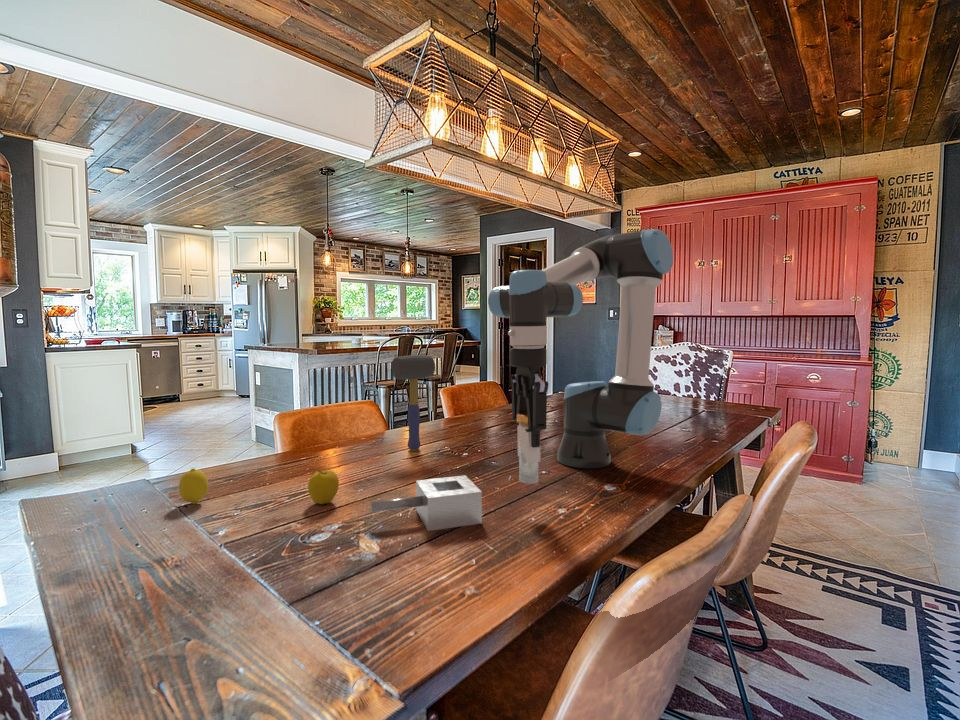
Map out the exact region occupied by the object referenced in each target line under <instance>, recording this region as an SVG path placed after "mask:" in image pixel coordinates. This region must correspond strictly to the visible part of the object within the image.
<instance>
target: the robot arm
mask: <svg viewBox="0 0 960 720" xmlns="http://www.w3.org/2000/svg"><path fill="white" fill-rule="evenodd" d="M673 252H674V251H673V246H672V244H671V242H670V239H669V237H668V235H667V234H666V233H665V232H664V231H663V230H660V229H657V228H656V229H642V230H637V231H631V232H622V233H615V234H608V235H606V236H603V237H600V238H598V239H595V240H593V241H591V242H589V243H587V244H585V245H582V246H580V247H579V248H576V249H575V250H574V251H572V253H570V256H568V257H567V258H564V259H562V260H560V261H558V262H556V263H553V264H552V265H550V266H548V267H545V268H544V269H543V268H542V269H521V270H520V269H519V270H514V271H512V272H511V273H510V275H509V284H508V285H500V286H496V287H493V289H492V290H490V292H489V294H488V297H487V304H488V308H489V311H490V312H491V314H492V315H494V317H497V318H504V319H509V331H508V332H507V335H508V336H509V345H510V346H512V347H511V348H510V349H509V365H510V366H511V367H514V368H516V369H515V374H511V375H510V384H511V385H510V386H511V404H512V405H511V410H512V411H511V412H512V413H511V415H512V417H511V418H512V421H515V424H516V427H517V429H516V431H517V457H519V423H518V422H517V414H519V413H527V415H528V426H529V429H525V430H526V432H527V462H528V463H533V462H538V463H541V432H542V431H545V430H547V411H548V410H547V408H548V407H547V403H548V402H547V399H548V389H549V382H548V381H547V380H545V381H543V380H542V373H541V368H543V367H545V366H547V364H548V363H547V362H548V361H547V357H548V356H547V354H548V353H547V350H548V349H546V348H545V346H547V343H548V342H547V341H548V340H547V337H548V336H547V334H548V333H547V330H548V329H547V327H548V325H547V318H565V319H566V318H568V317H573V316H575V315H577V314H578V313H579V312H580V310H582V307H583V302H584V295H583V293H582V290H581V288H580V287H579V286H578V285H579V284H581V283H582V282H584V283H588V282H589V283H590V282H592V281H594V280H595V279H604V278H616V282H617V283H618V284H619V286H620V287H621V294H620V295H621V297H620V298H621V299H620V310H619V320H618V321H619V322H618V335H617V345H616V346H617V348H616V359H615V370H614V371H615V372H614V376H613V377H612V378H611V379H610V380H609V381H608V384H607V382H606V381H602V380H600V381H599V380H598V381H597V380H595V381H593V380H592V381H583V382H574V383H568V384H567V385H566V386H565V387H564V395H563V435H562V438H561V441H560V443H559V447H558V450H557V453H556V454H557V455H556V456H557V459H556V460H557V462H558V463H560V464H562V465H564V466H567V467H570V468H571V467H572V468H578V469H601V468H605V467H608V466H610V465H611V463H612V460H611V459H612V457H611V456H612V455H611V452H610V449H609V446H608V442H607V438H606V431H611V432H612V431H613V432H618V433H622V434H627V435H629V436H632V435H636V436H645V435H649V434H650V433H651V432H652V431H653V430H654V428H655V427H656V426H657V424H658V422H659V420H660V417H661V412H662V401H661V396H660V394H658V393H657V392H656V391H654V389H655V384H654V383H653V382H652V381H651V380H650V378H649V376H650V363H651V350H652V349H651V348H652V337H653V324H654V316H655V315H654V314H655V313H654V312H655V303H656V302H655V300H656V299H655V298H656V289H657V288H658V287H659V286H660V285H662V283H663V279H664V278H663V277H664V275H667V274H668V273H670V272H671V270H672V268H673V266H674V253H673Z"/></svg>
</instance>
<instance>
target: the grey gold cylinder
mask: <svg viewBox="0 0 960 720" xmlns="http://www.w3.org/2000/svg"><path fill="white" fill-rule="evenodd" d="M517 422H518V423H519V456H518V463H519V464H518V466H519V467H518V471H519V472H518V474H519V476H518V477H519V479H518V480H519V482H520V483H522V484H527V485H529V484H531V485H533V484H536V483H539V462H533V463H528V462H527V432H526V430H525V429H529V426H528V415H527V413H519V414H517Z"/></svg>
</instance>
